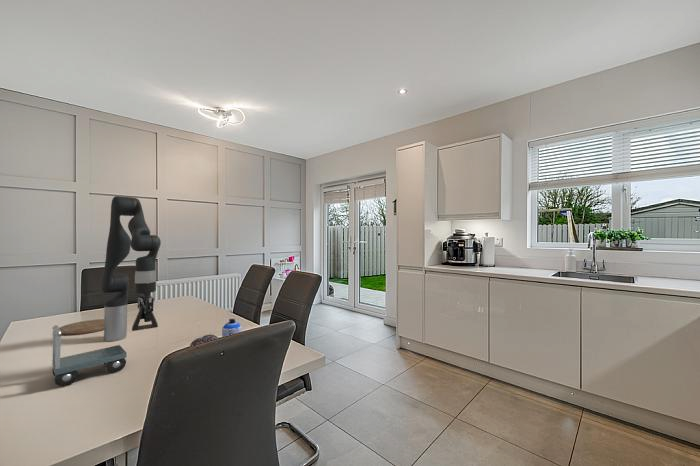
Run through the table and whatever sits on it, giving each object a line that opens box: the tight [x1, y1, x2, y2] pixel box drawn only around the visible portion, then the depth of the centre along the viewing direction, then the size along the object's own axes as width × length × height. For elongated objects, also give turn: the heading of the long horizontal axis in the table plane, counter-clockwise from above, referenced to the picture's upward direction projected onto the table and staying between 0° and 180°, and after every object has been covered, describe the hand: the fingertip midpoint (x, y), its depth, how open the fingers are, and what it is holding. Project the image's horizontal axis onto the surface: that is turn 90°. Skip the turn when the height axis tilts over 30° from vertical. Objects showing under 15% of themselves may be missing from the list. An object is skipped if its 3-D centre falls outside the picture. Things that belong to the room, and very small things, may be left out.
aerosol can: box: [221, 318, 243, 338], centre depth 119 cm, size 8×8×20 cm
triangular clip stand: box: [131, 301, 159, 332], centre depth 124 cm, size 9×6×12 cm, turn 125°
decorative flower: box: [189, 334, 219, 346], centre depth 123 cm, size 15×12×15 cm
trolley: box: [51, 324, 127, 388], centre depth 112 cm, size 12×20×20 cm, turn 139°
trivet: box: [59, 318, 104, 337], centre depth 166 cm, size 25×25×2 cm
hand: (145, 320), depth 124 cm, fingers closed on triangular clip stand, 6 cm apart
